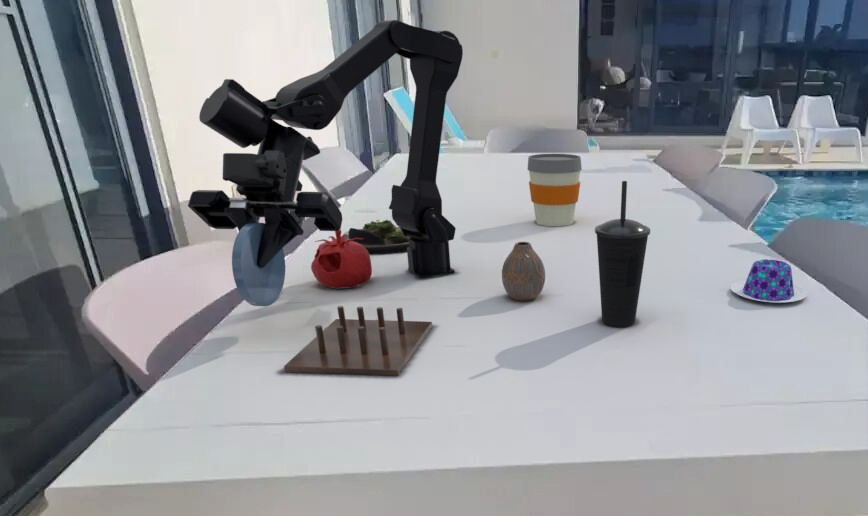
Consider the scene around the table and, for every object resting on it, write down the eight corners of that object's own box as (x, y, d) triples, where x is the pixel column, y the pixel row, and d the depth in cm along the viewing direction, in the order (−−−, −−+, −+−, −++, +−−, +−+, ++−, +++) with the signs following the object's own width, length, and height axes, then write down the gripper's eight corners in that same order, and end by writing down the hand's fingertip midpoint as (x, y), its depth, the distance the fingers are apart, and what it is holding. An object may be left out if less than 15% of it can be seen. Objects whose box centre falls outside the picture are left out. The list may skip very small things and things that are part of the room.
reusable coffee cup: (523, 226, 148) (521, 159, 142) (534, 215, 159) (533, 152, 153) (576, 229, 146) (577, 161, 140) (584, 217, 157) (585, 154, 151)
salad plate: (340, 233, 141) (337, 212, 139) (423, 229, 145) (421, 209, 143) (331, 256, 124) (327, 233, 122) (424, 251, 128) (422, 228, 126)
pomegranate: (357, 271, 115) (350, 219, 112) (385, 283, 109) (379, 229, 105) (303, 282, 109) (294, 228, 105) (330, 296, 103) (321, 239, 99)
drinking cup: (649, 315, 96) (658, 178, 87) (638, 333, 89) (646, 187, 81) (600, 309, 98) (604, 175, 89) (585, 326, 91) (588, 184, 83)
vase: (552, 293, 105) (552, 240, 101) (533, 306, 99) (531, 251, 95) (515, 287, 107) (514, 236, 104) (494, 300, 101) (492, 245, 98)
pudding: (716, 294, 104) (719, 263, 102) (752, 278, 112) (756, 249, 110) (785, 312, 97) (790, 279, 95) (818, 294, 105) (823, 263, 103)
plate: (282, 292, 92) (269, 215, 88) (290, 292, 92) (277, 215, 88) (241, 317, 82) (224, 231, 78) (250, 317, 82) (233, 232, 77)
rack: (336, 323, 92) (332, 295, 90) (432, 326, 91) (429, 298, 89) (284, 372, 77) (278, 339, 76) (398, 375, 77) (394, 343, 75)
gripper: (177, 126, 82) (144, 232, 76) (319, 127, 80) (295, 235, 75) (225, 179, 92) (198, 275, 87) (351, 180, 91) (332, 278, 86)
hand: (253, 266), depth 83 cm, fingers closed on plate, 1 cm apart
